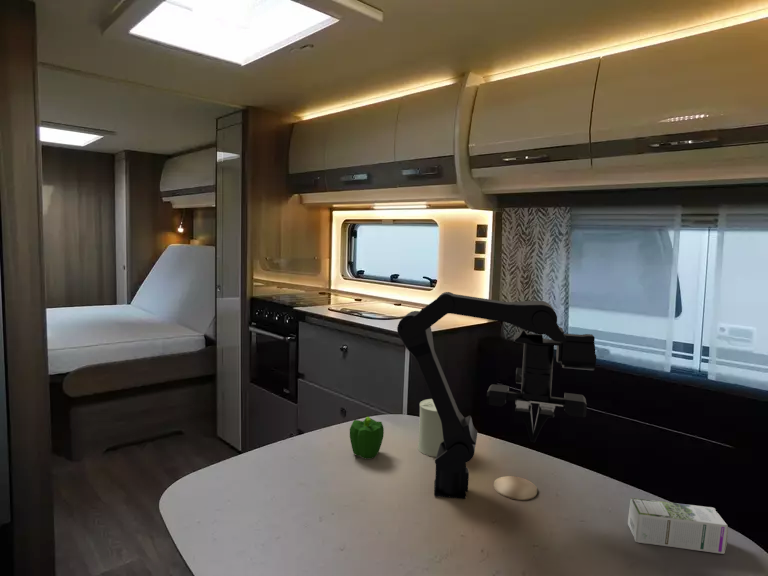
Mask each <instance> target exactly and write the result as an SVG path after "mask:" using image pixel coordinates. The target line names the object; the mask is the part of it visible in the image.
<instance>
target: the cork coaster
mask: <svg viewBox="0 0 768 576" xmlns="http://www.w3.org/2000/svg"><path fill="white" fill-rule="evenodd" d="M493 488H494V489H493V490H495V491H496V493H498V494H499V495H500V496H503V497H504V498H508V499H512V500H516V501H517V500H518V501H528V500H532V499H534V498H535V497H536V496H537V494H538V488H537V486H536V485H535V484H534V483H533V482H531V481H530V480H528V479H525V478H523V477H518V476H513V475H512V476H511V475H507V476H501V477H498V478H496V479H495V480H494V482H493Z"/></svg>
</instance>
